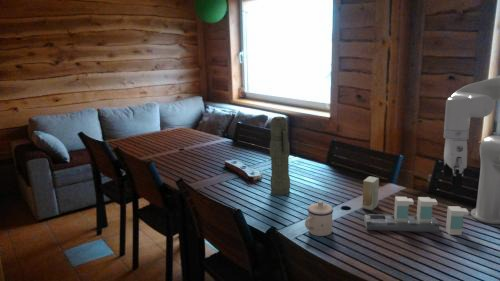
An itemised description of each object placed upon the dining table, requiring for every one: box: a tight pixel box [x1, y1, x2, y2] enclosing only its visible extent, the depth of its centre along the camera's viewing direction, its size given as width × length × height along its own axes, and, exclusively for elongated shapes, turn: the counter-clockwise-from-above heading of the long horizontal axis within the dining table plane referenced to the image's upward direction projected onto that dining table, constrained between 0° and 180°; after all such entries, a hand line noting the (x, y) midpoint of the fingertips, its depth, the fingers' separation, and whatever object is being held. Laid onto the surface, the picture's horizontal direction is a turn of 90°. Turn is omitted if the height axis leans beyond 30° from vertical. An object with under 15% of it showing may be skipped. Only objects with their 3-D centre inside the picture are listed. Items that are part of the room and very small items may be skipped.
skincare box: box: [362, 176, 380, 211], centre depth 164 cm, size 6×4×12 cm
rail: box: [363, 213, 441, 233], centre depth 148 cm, size 25×7×3 cm, turn 81°
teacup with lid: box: [304, 200, 334, 237], centre depth 145 cm, size 12×9×12 cm
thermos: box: [269, 116, 291, 197], centre depth 181 cm, size 9×12×35 cm
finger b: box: [393, 196, 415, 223], centre depth 146 cm, size 6×5×9 cm
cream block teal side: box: [416, 196, 438, 223], centre depth 145 cm, size 6×5×9 cm
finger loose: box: [445, 205, 470, 236], centre depth 141 cm, size 6×5×9 cm
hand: (452, 181), depth 139 cm, fingers open, 9 cm apart
